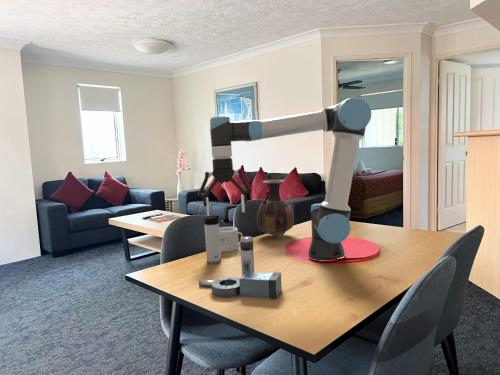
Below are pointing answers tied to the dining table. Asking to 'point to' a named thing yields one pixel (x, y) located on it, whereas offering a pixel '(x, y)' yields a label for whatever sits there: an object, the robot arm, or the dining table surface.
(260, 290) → the grey machined bracket
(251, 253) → the grey capped bottle
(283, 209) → the vase
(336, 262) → the dining table surface
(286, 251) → the dining table surface
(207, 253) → the travel mug
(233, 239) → the mug
